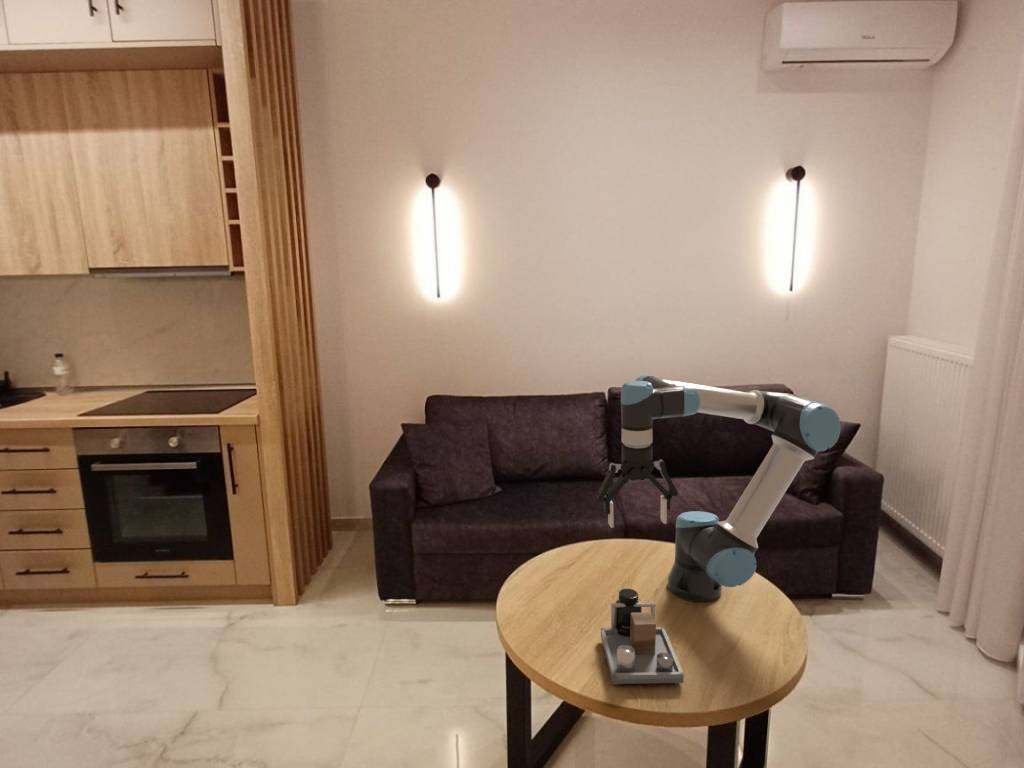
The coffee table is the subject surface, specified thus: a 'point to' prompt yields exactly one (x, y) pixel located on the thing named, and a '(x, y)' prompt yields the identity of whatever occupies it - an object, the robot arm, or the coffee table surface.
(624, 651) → the silver rounded piece
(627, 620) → the supplement bottle
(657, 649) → the grey tray with handle
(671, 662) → the silver metal dome
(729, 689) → the coffee table surface
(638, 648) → the walnut block
